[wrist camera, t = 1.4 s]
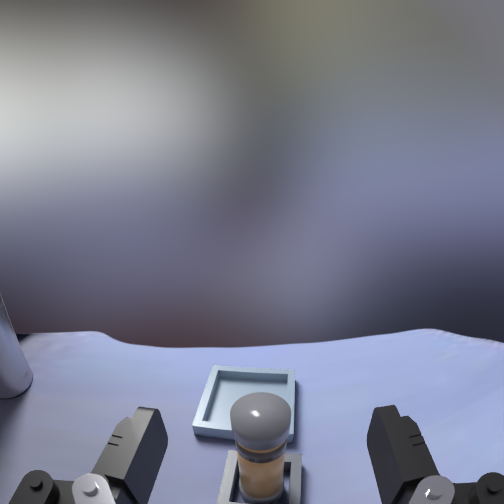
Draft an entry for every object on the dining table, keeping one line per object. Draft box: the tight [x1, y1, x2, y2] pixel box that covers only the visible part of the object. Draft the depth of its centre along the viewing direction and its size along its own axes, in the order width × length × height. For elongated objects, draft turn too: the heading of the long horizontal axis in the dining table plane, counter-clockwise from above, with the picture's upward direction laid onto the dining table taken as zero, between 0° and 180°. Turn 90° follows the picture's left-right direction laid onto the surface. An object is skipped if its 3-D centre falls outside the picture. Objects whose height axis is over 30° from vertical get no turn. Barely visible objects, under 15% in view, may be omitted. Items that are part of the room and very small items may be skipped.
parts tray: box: [192, 365, 295, 443], centre depth 38 cm, size 12×12×2 cm
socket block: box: [217, 450, 302, 504], centre depth 26 cm, size 8×8×2 cm
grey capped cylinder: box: [230, 392, 291, 504], centre depth 24 cm, size 5×5×14 cm
